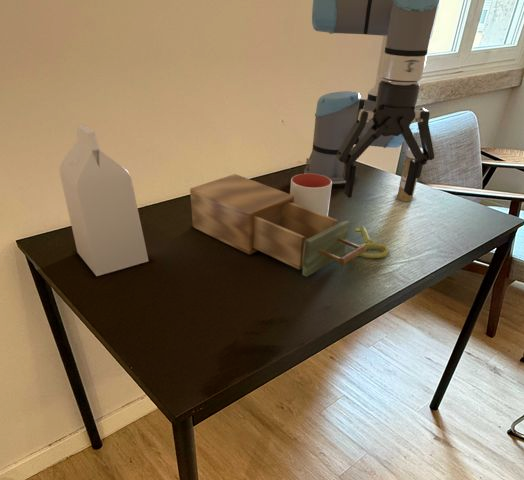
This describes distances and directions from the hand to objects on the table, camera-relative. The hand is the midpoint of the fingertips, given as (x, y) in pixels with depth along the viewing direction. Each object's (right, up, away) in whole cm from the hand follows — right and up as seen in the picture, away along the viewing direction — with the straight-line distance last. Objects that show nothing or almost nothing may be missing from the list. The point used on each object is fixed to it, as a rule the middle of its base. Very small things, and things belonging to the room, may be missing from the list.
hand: (378, 194), depth 97 cm
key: (0, -10, +8) cm, 13 cm away
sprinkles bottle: (+16, +10, +32) cm, 37 cm away
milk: (-58, -13, +2) cm, 59 cm away
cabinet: (-30, -4, +13) cm, 33 cm away
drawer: (-16, -13, +2) cm, 20 cm away
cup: (-13, 0, +19) cm, 23 cm away
